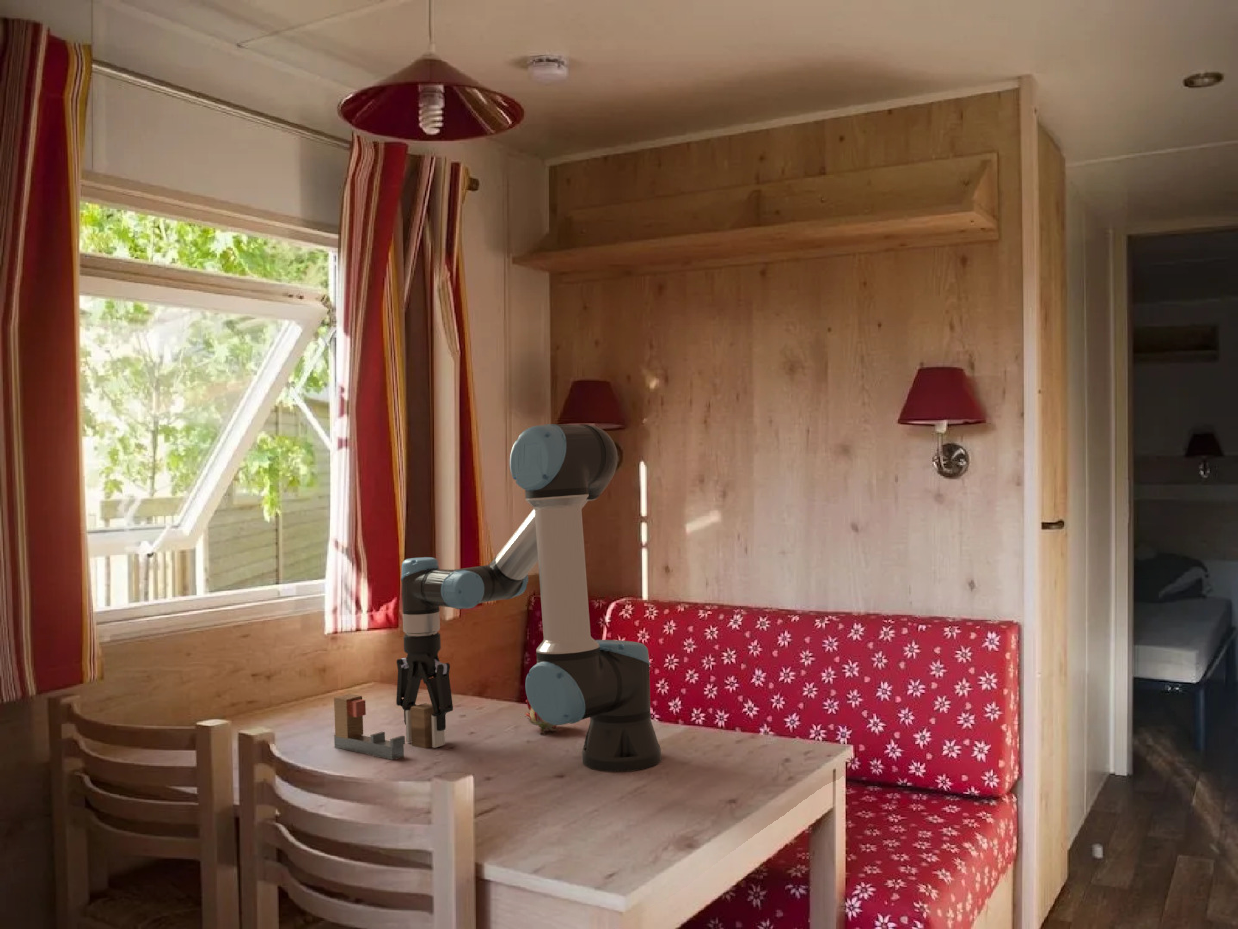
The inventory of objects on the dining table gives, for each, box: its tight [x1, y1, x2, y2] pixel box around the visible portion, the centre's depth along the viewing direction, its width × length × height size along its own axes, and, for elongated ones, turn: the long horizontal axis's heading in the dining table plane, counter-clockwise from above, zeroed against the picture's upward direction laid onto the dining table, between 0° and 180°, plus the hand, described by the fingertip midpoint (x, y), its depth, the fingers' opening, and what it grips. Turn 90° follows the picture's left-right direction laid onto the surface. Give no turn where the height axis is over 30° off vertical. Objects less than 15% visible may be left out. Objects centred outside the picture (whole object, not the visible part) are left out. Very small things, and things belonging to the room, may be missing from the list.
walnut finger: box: [411, 702, 440, 749], centre depth 230 cm, size 6×4×8 cm, turn 142°
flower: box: [524, 698, 561, 735], centre depth 237 cm, size 10×9×8 cm
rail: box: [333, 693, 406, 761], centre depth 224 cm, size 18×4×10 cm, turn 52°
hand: (425, 743), depth 229 cm, fingers open, 7 cm apart
